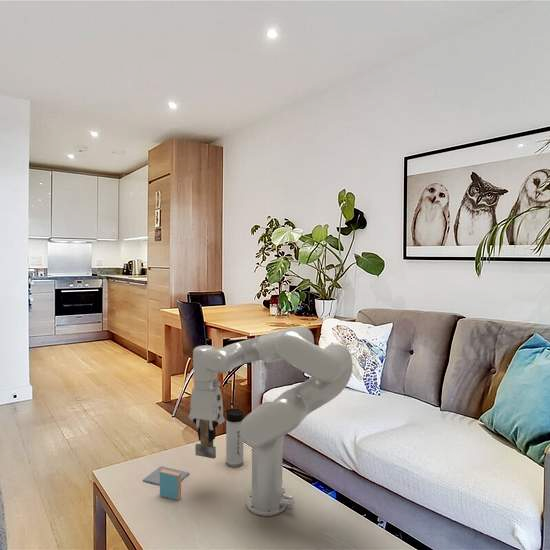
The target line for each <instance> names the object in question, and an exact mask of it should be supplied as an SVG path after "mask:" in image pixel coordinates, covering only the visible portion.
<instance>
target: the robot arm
mask: <svg viewBox="0 0 550 550" xmlns="http://www.w3.org/2000/svg"><path fill="white" fill-rule="evenodd" d="M192 350H193V351H192V360H193V361H192V363H193V388H192V390H191V395H190V403H189V404H190V406H189V407H190V409H189V410H190V412H189V414H188V419H189V420H191V421H192V422H193V423H194V424H195V427H196V429H197V437H198V441H200V419H201V420H208V421H209V428H210V430H208V440H209V442H212V441H213V442H214V440H215V439H216V437H217V436H216V434H217V433H216V428H217V427H218V426H219V425H221V424H223V423H224V422H226V419H225V417H224V405H223V397H222V392H221V388H220V386H221V382H220V381H218V374H226V373H228V372H230V371H232V370H234V369H235V368H238V367H239V366H242V365H244V364H249V363H253V362H259V361H262V362H263V363H265V364H270V363H275V362H278V361H282V360H284V361H285V362H286V363H288V364H289V365H291V366H293V367H295V368H296V369H298V370H299V371H301V372H302V373H305V374H306V375H308V376H310V378H308V379H306V380H305V381H303V382H302V383H300V384H297V385H296V386H294V387H292V388H290V389H287V390H285V391H284V392H282V393H281V394H280V395H279V396H277V398H274V400H273V401H265V402H263V403H261V404H259V405H258V406H256V408H254V409H253V410H252V411H251V412H249V413H248V414H247V415H246V416H245V417H243V421H242V423H241V425H240V436H241V438H242V440H243V443H244V444H245V445H247V446H248V447H251V493H250V494H249V495H248V496H247V498H246V503H245V504H246V507H247V509H248V510H249V511H250V512H251V513H253V514H255V515H259V516H263V517H271V516H275V515H278V514H281V513H283V512H284V511H285V510H286V508H287V507H290V508H294V507H295V504H296V503H295V502H296V501H295V500H294V496H293V495H288V494H287V493H286V488H283V455H284V454H283V453H284V437H285V436H286V435H287V434H289V433H291V432H292V431H294V430H295V429H297V428H298V427H299V426H300V424H301V423H302V422H303V421H304V420H305V419H306V417H307V416H309V415H310V414H311V413H313V412H314V411H316V410H317V409H320V408H321V407H324V406H325V405H326V404H327V403H330V402H331V401H332V400H334V399H336V397H337V396H339V395H340V394H341V393H342V392H343V391H344V389H345V388H346V387H347V385H348V383H349V382H350V379H351V377H352V373H353V358H352V357H353V356H352V354H351V352H350V350H349V348H347V347H346V346H345V345H342V344H339V343H338V344H337V343H335V344H330V345H328V346H326V347H325V348H322V347H320V346H319V345H316V344H315V338H314V335H313V333H312V331H311V330H310V329H309V328H308V327H306V326H299V325H298V326H293V327H290V328H286V329H283V330H277V331H275V332H271V333H267V334H262V335H259V336H257V337H254V338H248V339H245V340H241V341H238V342H234V343H233V342H232V343H231V344H228V345H226V346H224V347H220V348H216V347H215V346H213V345H208V344H206V345H197V346H196V347H194V349H192Z"/></svg>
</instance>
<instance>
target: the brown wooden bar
mask: <svg viewBox="0 0 550 550" xmlns="http://www.w3.org/2000/svg"><path fill="white" fill-rule="evenodd" d="M208 430H210V428H209V421H208V420H201V419H200V440H199V441H200V442H199V443H196V444H195V449H194V450H195V456H197V457H204V458H208V459H214V460H215V459H216V458H217V457H216V456H217V454H216V453H217V452H216V450H217V449H216V446H214V440H213V441H212V442H209V440H208Z"/></svg>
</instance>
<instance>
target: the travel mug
mask: <svg viewBox="0 0 550 550" xmlns="http://www.w3.org/2000/svg"><path fill="white" fill-rule="evenodd" d="M225 413H226V419H225V422H226V423H225V424H226V433H225V436H226V440H225V441H226V443H225V444H226V445H225V447H226V450H225V451H226V454H225V457H226V461H225V463H226V466H228V467H230V468H238V467H241V466H242V465H243V464H244V441H243V440H242V438H241V436H240V425H241V423H242V421H243V419H244V411H243V410H241V409H238V408H229V409H228V408H226V410H225Z"/></svg>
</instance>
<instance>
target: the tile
mask: <svg viewBox="0 0 550 550" xmlns="http://www.w3.org/2000/svg"><path fill="white" fill-rule="evenodd" d="M159 496H160V497H163V496H164V497H163V498H167V499H170V498H171V500H174V499H175V500H174V501H179V500H181V499H182V481H181V473H177V472H173V471H169V470H164V469H162V470H161V471H160V486H159Z"/></svg>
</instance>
